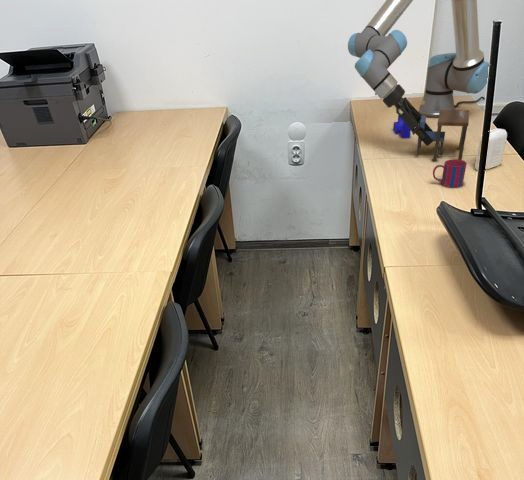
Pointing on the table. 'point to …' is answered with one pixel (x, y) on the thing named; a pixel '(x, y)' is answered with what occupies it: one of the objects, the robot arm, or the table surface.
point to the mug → (452, 173)
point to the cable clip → (401, 128)
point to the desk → (452, 120)
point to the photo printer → (494, 148)
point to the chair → (431, 134)
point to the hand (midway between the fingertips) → (430, 139)
